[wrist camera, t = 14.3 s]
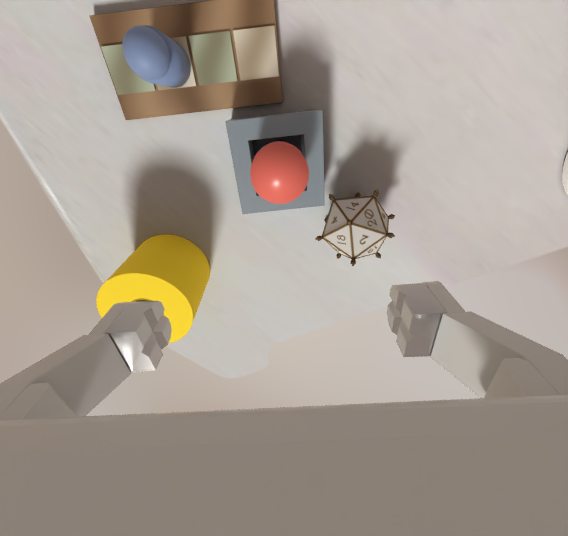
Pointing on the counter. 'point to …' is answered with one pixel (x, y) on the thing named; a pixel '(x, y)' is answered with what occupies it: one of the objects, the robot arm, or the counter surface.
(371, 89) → the counter surface
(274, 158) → the plunger
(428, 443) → the robot arm
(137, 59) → the pawn
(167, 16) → the track board
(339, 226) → the game die
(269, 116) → the base
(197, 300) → the yellow hollow cylinder
